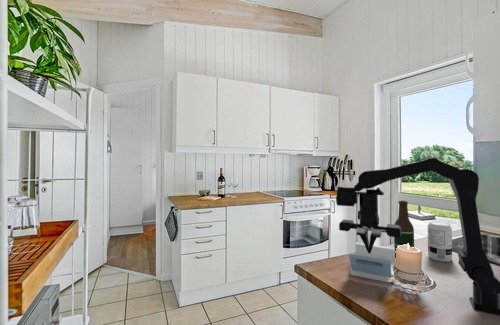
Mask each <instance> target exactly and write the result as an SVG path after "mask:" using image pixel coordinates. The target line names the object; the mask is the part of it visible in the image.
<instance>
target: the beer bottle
mask: <svg viewBox="0 0 500 325" xmlns="http://www.w3.org/2000/svg"><path fill="white" fill-rule="evenodd" d="M408 205H409V203H408V201H407V200H399V201H398V217H397V218H396V221H395V222H394V224H393V225H399V226H400V227H401V237H400V238H398V237H393V239H394V240H393V248H395V251H396V248H397V246H398V245H403V244H407V243H409V245H410V247H414V248H415V231H414V230H415V228H414V225H413V223H412V222H411V220H410V217H409V210H408Z"/></svg>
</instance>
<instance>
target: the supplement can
mask: <svg viewBox="0 0 500 325" xmlns="http://www.w3.org/2000/svg"><path fill="white" fill-rule="evenodd" d="M427 256H428V257H429V258H430V259H432V261H433V260H434V261H437V262H442V263H449V262H451V261H453V229H452V226H451V225H450V224H449V223H447V222H441V221H430V222H429V223H428V224H427Z"/></svg>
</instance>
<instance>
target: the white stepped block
mask: <svg viewBox="0 0 500 325" xmlns="http://www.w3.org/2000/svg"><path fill="white" fill-rule="evenodd" d="M369 245H370V243H369ZM355 255H359V256H365V257H371V258H377V259H383V260H388V261H390V263H391V277H394V278H395V276H394V271H393V269H392V267H393V266H394V265H395V266H396V254H395V248H394V247H390V246H385V245H384V246H383V245H377V244H374V245H373V248H372V251H371V253H368V252H367V249H366V247H365V245H364V242H355ZM350 275H351V276H356V277H360V278H366V279H371V280H375V281H380V282H384V281H385V282H384V283H389V281H388V280H387V279H386V277H384V276H379V275H374V274H369V273H364V272H359V271H354V270H352V268H351V267H350Z"/></svg>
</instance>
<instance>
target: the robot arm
mask: <svg viewBox="0 0 500 325" xmlns="http://www.w3.org/2000/svg"><path fill="white" fill-rule="evenodd" d="M428 172H433V173H435V174H437V175H438V176H441V177H442V178H445V179H447V180H448V182H449V185H450V187H451V191H452V192H453V195H454V196H455V198H456V203H457V208H458V209H457V210H458V214H459V216H458V217H459V222H460V229H461V236H462V241H463V248H462V250H457V251H456V253H457V255H458V262H457V263H458V264H459V266H460V267H461V269H462V271H463V272H464V273H466V274H467V276H468V278H469V279H470V280H472V281H473V282H472V297H469V301H470V304H471V305H472V308H473V309H474V310H476V311H480V312H487V313H491V314H494V315H498V316H500V279H499V278H498V277H497V276H496V275H495V274H494V273H495V272H494V271H493V268H492V265H491V262H490V261H489V258H488V256H487V254H486V252H485V250H484V247H483V239H482V234H481V227H480V220H479V215H478V214H479V213H478V207H477V201H476V200H477V196H478V192H479V182H480V177H479V175H478V173H477V172H475V171H474V170H472V169H469V168H464V167H463V168H461V167H456V166H453V165H450V164H448V163H446V162H443V161H441V160H439V159H438V158H436V157H429V158H426V159H423V160H418V161H414V162H410V163H406V164H402V165H400V166H399V165H398V166H395V167H390V168H385V169H375V170H374V169H371V170H365V171H363V172H361V173H360V174H359V176H358V179H357V180H358V182H357V183H356V184H355V185H354V186H353V187H345V186H338V187H337V191H336V197H335V201H336V205H337V206H340V207H353V208H354V207H355V205H358V201H359V210H358V211H357V220H359V223H356V222H355V223H354V220H350V219H342V220H341V221H340V222H339V223H338V230H339V231H343V232H349V231H351V230H352V229H354V230H356V235H357V236H359V237H360V240H361V241H362V243H363V244H364V245H365V247H366V249H367V252H368V253H371V251H372V248H373V245H375V242H376V240H377V238H379V239H380V238H381V237H382V233H385V234H386V235H388V237H391V238H394V237H398V238H400V237H401V227H400V226H399V225H394V224H391V223H389V224H388V223H386V224H387V225H386V226H382V225H380V217H379V216H380V215H379V199H378V198H379V196H384V194H385V192H384V191H382V190H381V188H380V187H377V186H379V185H382V184H384V183H386V182H389V181H392V180H395V179H396V180H397V179H400V178H405V177H406V178H407V177H409V176H413V175H419V174H423V173H428ZM374 187H376V188H375V189H373V188H374ZM364 189H366V190H365V191H362V190H364ZM358 196H359V197H358ZM369 231H370V232H371V233H370V237H369ZM369 244H370V245H369Z"/></svg>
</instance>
